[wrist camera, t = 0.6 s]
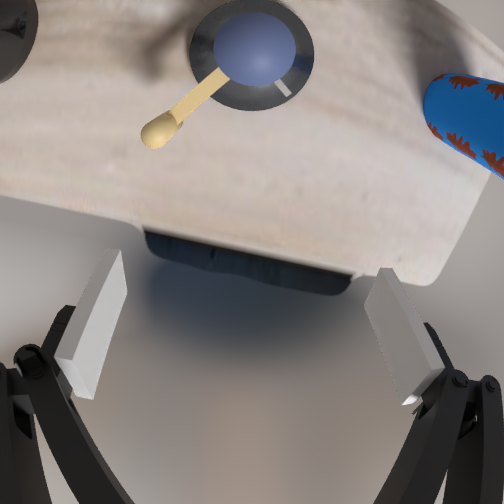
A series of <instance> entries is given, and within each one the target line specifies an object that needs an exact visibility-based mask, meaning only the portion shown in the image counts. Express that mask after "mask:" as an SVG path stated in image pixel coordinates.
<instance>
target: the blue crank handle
mask: <svg viewBox="0 0 504 504" xmlns="http://www.w3.org/2000/svg"><path fill="white" fill-rule="evenodd" d="M295 54H296V46H295V41H294V38H293V35H292V33H291V32H290V30H289V29H288V27H287V26H286V25H285V24H284V23H283V22H281V21H280V20H279V19H277V18H275V17H273V16H271V15H268V14H264V13H257V12H252V13H245V14H241V15H238V16H236V17H234V18H232V19H230V20H229V21H227V22H226V23H225V24H224V25H223V26H222V27H221V29H220V30H219V32H218V33H217V35H216V38H215V41H214V57H215V60H216V63H217V65H218V68H217V69H216V70H214V71H213V72H212V73H211V74H210V75H209V76H207V77H206V78H205V79H204V80H203V81H202V82H200V83H199V84H198V85H197V86H196V87H195V88H194V89H193V90H191V91H190V92H189V93H188V94H187V95H186V96H185V97H184V98H183V99H182V100H181V101H179V102H178V103H177V104H176V105H175V106H174V107H173V108H172V109H171V110H169V111H166V112H165V113H163V114H161V115H160V116H158V117H157V118H155V119H154V120H152V121H150V122H149V123H147V124H146V125H145V126H144V127H143V129H142V131H141V139H142V142H143V143H144V144H145V145H146V146H147V147H149V148H152V149H157V148H160V147H162V146H163V145H164V144H165V143H166V142H167V141H168V140H169V139H170V138H171V137H172V136H173V135H174V134H175V133H176V132H177V131H178V130H179V129H180V128H181V126H182V124H183V120H184V119H185V118H186V117H187V116H188V115H189V114H191V113H192V112H193V111H194V110H195V109H196V108H197V107H198V106H199V105H201V104H202V103H203V102H204V101H205V100H206V99H207V98H209V97H210V96H211V95H212V94H213V93H214V92H215V91H217V90H218V89H219V88H220V87H221V86H223V85H224V84H225V83H226V82H227V81H229V80H230V79H231V80H233V81H235V82H237V83H240V84H243V85H247V86H263V85H267V84H270V83H273V82H275V81H277V80H278V79H280V78H281V77H282V76H284V75H285V74H286V73H287V72H288V70H289V69H290V67H291V66H292V64H293V61H294V58H295Z"/></svg>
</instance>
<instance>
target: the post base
mask: <svg viewBox="0 0 504 504" xmlns="http://www.w3.org/2000/svg"><path fill="white" fill-rule="evenodd" d="M252 12H257V13H264V14H268V15H271V16H273V17H275V18H277V19H279V20H280V21H281V22H283V23H284V24H285V25H286V26H287V27H288V29H289V30H290V32H291V33H292V35H293V38H294V41H295V46H296V54H295V58H294V61H293V64H292V66H291V67H290V69H289V70H288V72H287V73H286V74H285V75H284V76H282V77H281V78H280V79H278V80H277V81H275V82H273V83H270V84H267V85H263V86H247V85H243V84H240V83H237V82H235V81H233V80H231V79H230V80H229V81H227V82H226V83H225V84H224V85H223V86H221V87H220V88H219V89H218V90H217V91H215V92H214V93H213V94H212V95H211V96H210V97H212V98H213V99H214V100H216V101H217V102H219V103H221V104H223V105H225V106H228V107H231V108H234V109H238V110H245V111H259V110H266V109H270V108H273V107H276V106H279V105H281V104H283V103H285V102H287V101H288V100H290V99H291V98H292V97H294V96H295V95H296V94H297V93H298V92H299V91H300V90H301V89H302V88H303V86H304V85H305V83H306V82H307V80H308V78H309V76H310V74H311V71H312V68H313V63H314V46H313V42H312V39H311V36H310V34H309V31H308V30H307V28H306V26H305V25H304V24H303V22H302V21H301V20H300V19H299V18H298V17H297V16H296V15H295V14H294V13H293V12H291V11H290V10H289V9H287V8H285V7H284V6H282V5H280V4H277V3H275V2H271V1H268V0H236V1H232V2H229V3H227V4H224V5H222V6H220V7H218V8H217V9H215V10H214V11H212V12H211V13H210V14H209V15H208V16H206V17H205V19H204V20H203V21H202V22H201V23H200V25H199V26H198V28H197V29H196V31H195V33H194V36H193V38H192V42H191V47H190V63H191V68H192V71H193V74H194V76H195V78H196V80H197V82H198V83H200V82H202V81H203V80H204V79H205V78H206V77H207V76H209V75H210V74H211V73H212V72H213V71H214V70H216V69H217V68H218V65H217V63H216V60H215V57H214V41H215V38H216V35H217V33H218V32H219V30H220V29H221V27H222V26H223V25H224V24H225V23H226V22H227V21H229V20H230V19H232V18H234V17H236V16H238V15H241V14H245V13H252Z"/></svg>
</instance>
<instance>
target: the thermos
mask: <svg viewBox="0 0 504 504" xmlns="http://www.w3.org/2000/svg"><path fill="white" fill-rule="evenodd" d="M424 116H425V119H426V122H427V125H428V127H429V128H430V130H431V131H432V133H433V134H434V135H435V136H436V137H437V138H439V139H440V140H442V141H443V142H445V143H446V144H448V145H449V146H451V147H452V148H454V149H455V150H457V151H459V152H460V153H462V154H464V155H466V156H467V157H469V158H471V159H472V160H474V161H476V162H477V163H479V164H481V165H482V166H484V167H485V168H487V169H489V170H490V171H492V172H493V173H495V174H496V175H498V176H499V177H501V178H502V179H504V83H501V82H497V81H493V80H489V79H484V78H480V77H475V76H470V75H461V74H444V75H441V76H439V77H437V78H436V79H434V80H433V81H432V83H431V84H430V86H429V87H428V88H427V91H426V95H425V98H424Z"/></svg>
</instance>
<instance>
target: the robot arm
mask: <svg viewBox="0 0 504 504" xmlns="http://www.w3.org/2000/svg"><path fill="white" fill-rule="evenodd" d="M37 27H38V12H37V7H36V4H35V2H34V0H0V83H3V82H5V81H7V80H8V79H10V78H11V77H12V76H13V75H14V74H15V73H16V72H17V71H18V70H19V69H20V68H21V66H22V65H23V64H24V62H25V60H26V59H27V57H28V55H29V53H30V51H31V49H32V46H33V43H34V40H35V37H36V33H37ZM126 295H127V288H126V281H125V275H124V269H123V263H122V256H121V250H119V249H106V250H105V252H104V254H103V256H102V258H101V259H100V261H99V263H98V265H97V267H96V269H95V271H94V272H93V274H92V276H91V278H90V280H89V282H88V284H87V286H86V288H85V290H84V292H83V294H82V296H81V298H80V300H79V302H78V304H77V306H69V305H65V306H64V307H63V308H62V309H61V310H60V311H59V312H58V313H57V315H56V317H55V319H54V321H53V323H52V325H51V328H50V331H49V332H48V334H47V336H46V338H45V340H44V342H43V345H42V347H41V348H40V347H39V346H37V345H35V344H28V345H24V346H22V347H21V348H19V349H18V351H17V352H16V353H15V356H14V365H15V367H16V368H12V369H6V368H5V366H4V364H3V363H0V504H52V502H51V498H50V494H49V491H48V487H47V483H46V479H45V476H44V471H43V467H42V462H41V458H40V452H39V447H38V442H37V436H36V429H35V423H34V416H33V414H36V417H37V419H38V422H39V424H40V427H41V429H42V432H43V434H44V436H45V439H46V441H47V443H48V445H49V448H50V449H51V452H52V454H53V456H54V458H55V460H56V462H57V464H58V466H59V468H60V470H61V472H62V474H63V476H64V478H65V479H66V481H67V483H68V485H69V487H70V489H71V491H72V492H73V494H74V496H75V497H76V499H77V501H78V502H79V504H135V503H134V502H133V501H132V500H131V498H130V497H129V495H128V494H127V493H126V491H125V490H124V488H123V487H122V486H121V484H120V483H119V481H118V480H117V478H116V477H115V475H114V474H113V472H112V471H111V469H110V467H109V466H108V464H107V463H106V461H105V460H104V458H103V457H102V455H101V453H100V451H99V450H98V448H97V446H96V445H95V443H94V441H93V439H92V438H91V436H90V434H89V433H88V430H87V429H86V427H85V425H84V423H83V421H82V419H81V417H80V415H79V414H78V411H77V410H76V407H75V406H74V403H73V401H72V399H71V398H70V396H71V392H72V389H73V391H74V393H75V394H76V396H78V397H83V398H87V399H92V400H93V398H94V394H95V390H96V387H97V383H98V380H99V376H100V373H101V370H102V366H103V363H104V359H105V357H106V353H107V350H108V347H109V344H110V341H111V338H112V335H113V332H114V329H115V326H116V323H117V320H118V317H119V314H120V311H121V308H122V306H123V303H124V300H125V297H126ZM364 308H365V310H366V312H367V315H368V317H369V319H370V322H371V324H372V327H373V330H374V332H375V335H376V337H377V340H378V342H379V345H380V348H381V350H382V353H383V355H384V358H385V361H386V363H387V366H388V369H389V372H390V374H391V377H392V380H393V383H394V385H395V388H396V391H397V394H398V397H399V400H400V403H401V405H405V404H411V403H415V402H416V400H418V398H419V397H420V396H421V397H422V399H423V402H422V403H421V404H420V405H419V406H418V407H417V408H416V409H415V410H414V411H413V413H412V414H415V413H416V412H417V414H416V417H415V419H414V421H413V424H412V426H411V429H410V431H409V433H408V436H407V438H406V440H405V443H404V445H403V447H402V449H401V452H400V453H399V456H398V458H397V460H396V462H395V464H394V466H393V468H392V470H391V472H390V474H389V476H388V478H387V480H386V482H385V483H384V485H383V487H382V489H381V491H380V493H379V494H378V496H377V498H376V500H375V501H374V503H373V504H434V502H435V500H436V498H437V495H438V493H439V490H440V488H441V485H442V483H443V480H444V477H445V474H446V472H447V480H446V485H445V492H444V498H443V504H502V500H503V489H504V419H503V406H502V395H501V388H500V384H499V382H498V381H497V380H496V379H495V378H494V377H493V376H491V375H486V376H484V377H483V378H482V379H481V380H480V381H474V380H469V379H468V377H467V376H466V375H465V374H464V373H463V372H462V371H460V370H455V369H454V367H453V365H452V363H451V361H450V359H449V357H448V355H447V353H446V351H445V349H444V347H443V346H442V343H441V341H440V340H439V337H438V335H437V333H436V332H435V330H434V329H433V328H432V327H431V326H430V325H429V324H428V323H423V322H422V320H421V319H420V317H419V315H418V313H417V311H416V309H415V307H414V305H413V304H412V302H411V300H410V298H409V297H408V295H407V293H406V291H405V289H404V288H403V286H402V284H401V282H400V281H399V279H398V277H397V276H396V274H395V272H394V271H393V269H392V268H380V269H379V272H378V274H377V277H376V279H375V281H374V284H373V286H372V289H371V291H370V293H369V295H368V298H367V300H366V302H365V304H364ZM476 416H477V421H476ZM447 469H448V471H447Z"/></svg>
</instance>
